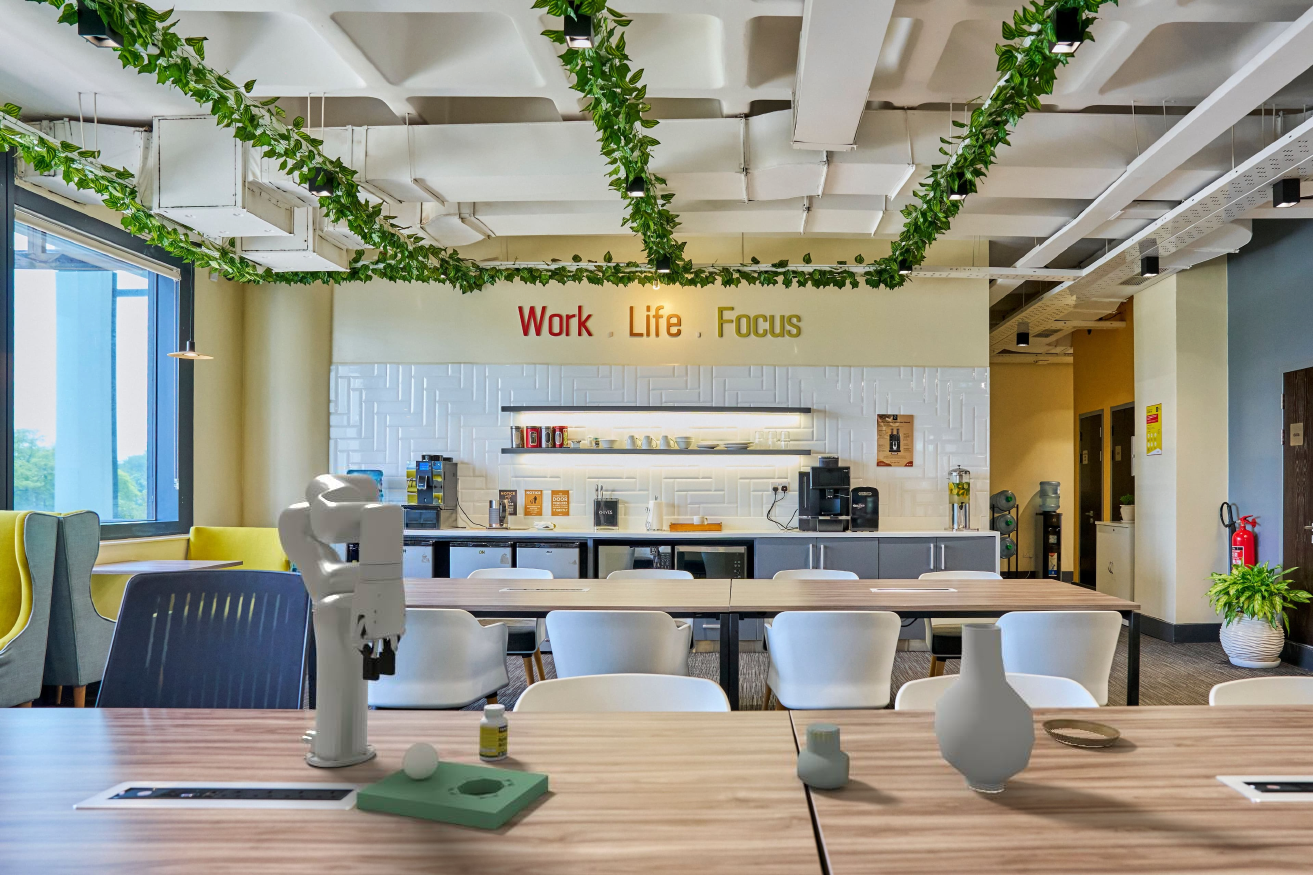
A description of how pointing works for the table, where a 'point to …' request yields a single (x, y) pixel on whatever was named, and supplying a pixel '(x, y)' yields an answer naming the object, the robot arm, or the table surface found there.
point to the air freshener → (823, 758)
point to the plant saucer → (1082, 725)
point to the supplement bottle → (493, 733)
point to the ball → (420, 761)
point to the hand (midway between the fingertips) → (379, 676)
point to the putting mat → (456, 794)
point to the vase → (984, 715)
